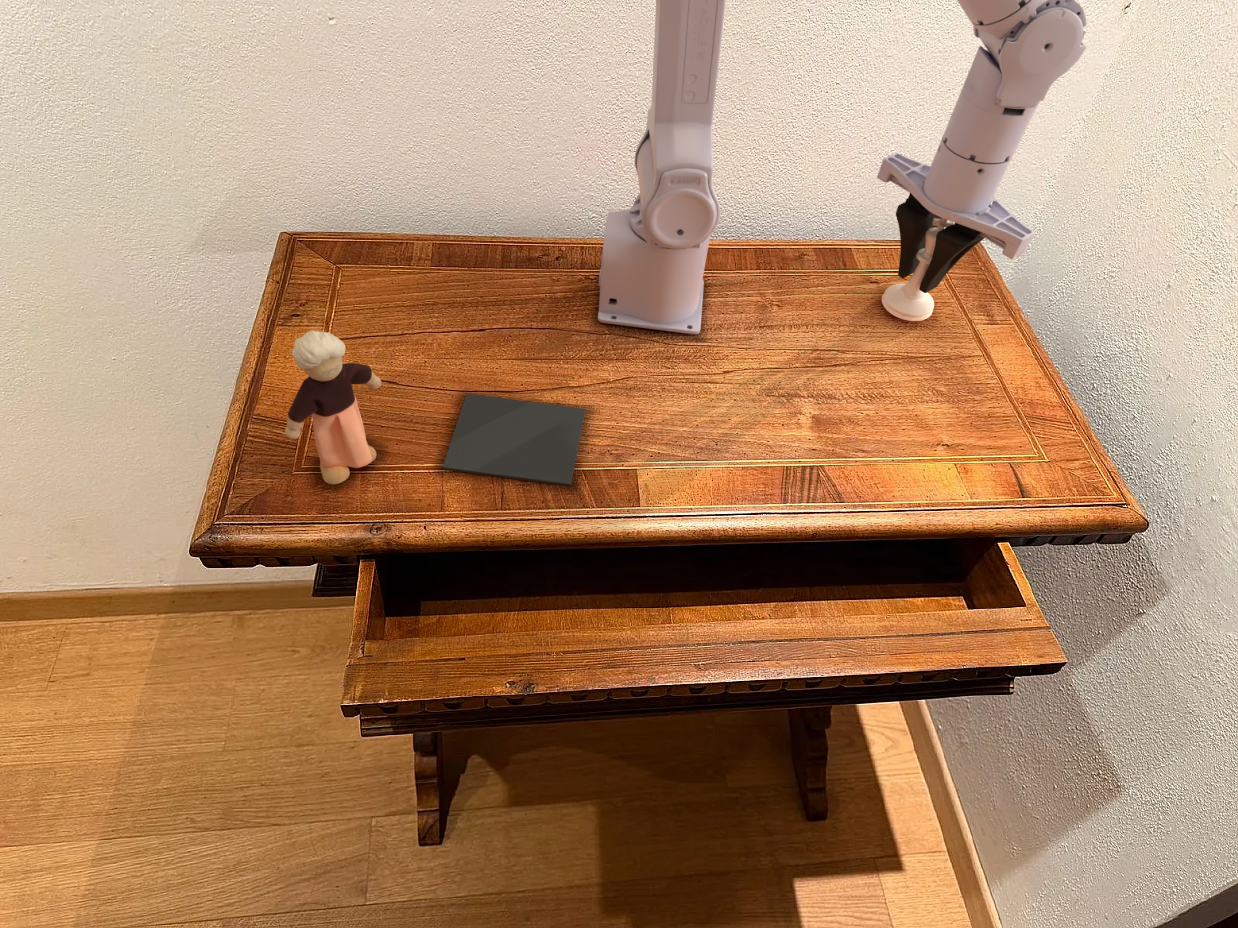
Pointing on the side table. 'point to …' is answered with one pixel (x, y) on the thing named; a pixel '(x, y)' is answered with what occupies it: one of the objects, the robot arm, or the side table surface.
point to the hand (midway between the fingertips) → (917, 280)
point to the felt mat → (516, 440)
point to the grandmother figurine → (331, 404)
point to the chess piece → (915, 283)
